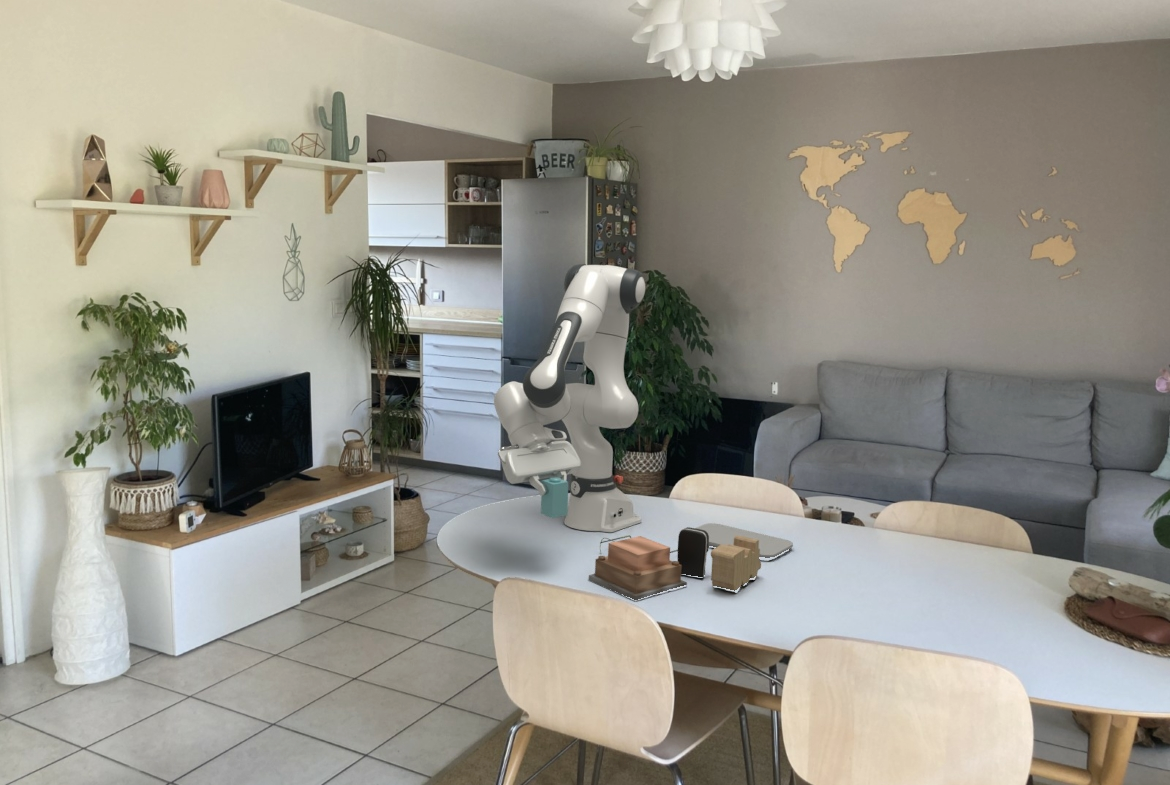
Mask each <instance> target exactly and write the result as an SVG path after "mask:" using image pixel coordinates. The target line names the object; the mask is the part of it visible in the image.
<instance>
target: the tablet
mask: <svg viewBox="0 0 1170 785" xmlns="http://www.w3.org/2000/svg"><path fill="white" fill-rule="evenodd" d="M695 528H696V529H701V530H705V531H706V532H707V533H708V535H709V546H713V547H718V546H720V545H721V544H723V545H728V544H730V545H733V544H734V537H735V536H737V535H738V536H743V537H747V538H752V539H757V540H759V549H760V556H759V557H765V558H770V557H775V556H777V555H779V554H781V553H782V552H784V551H786V550H788V549H790V550H791V548H793V547H794V542H792V541H791V540H788V539H785V538H780V537H775V536H772V535H769V534H768V535H767V534H763V533H761V532H760V533H759V532H755V531H750V530H746V529H741V528H739V527H738V528H737V527H734V526H733V527H732V526H729V525H724V524H720V523H715V522H714V523H713V522H712V523H705V524H702V525H700V526H697V527H695Z"/></svg>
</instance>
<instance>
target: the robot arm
mask: <svg viewBox="0 0 1170 785" xmlns="http://www.w3.org/2000/svg"><path fill="white" fill-rule="evenodd" d="M645 280H646V279H645V276H644V275H643V273H642V272H641V271H639V270H637V269H635V268H630V267H628V268H626V267H621V266H616V265H611V264H606V265H605V264H586V263H581V264H580V263H579V264H574V265H573V266H571V268H569V269H568V270H567V272H566V273H565V277H564V284H563V285H564V288H563V289H564V292H565V293H564V295H563V298H562V300H561V303H560V306H559V309H558V312H557V316H556V319H555V322H554V325H553V327H552V329H551V331H550V333H549V335H548V337H547V340H546V341H545V345H544V347H543V349H542V351H541V353H540V356H539V357H538V359H537V360H536V361H535V362H534V363H533V364H532V366H530V368H529V369H528V370H527V371H526V373H525V374H524V377H523V380H522V382H518V381H515V380H514V381H513V380H512V381H510V382H507V383H505V384H503V385H502V386H500V387H499V389H498V390H497V391H496V393H495V395H494V398H493V405H494V408H495V412H496V414H497V417H498V419H499V421H500V423H501V425H502V427H503V429H504V430H505V431H506V433H507V437H508V440H509V442H510V444H511V445H509V446H508V445H507V446H502V447H500V448H499V450H497V456H498V458H499V461H500V462H501V467H502V469H503V473H504V476H505V478H506V480H507V482H508V483H510V484H511V485H514V484H520V483H526V482H529V484H530V485H531V486H532V487H534V488H535V490H537V491H538V493H539V495H540V496H541V495H547V493H548V492H549V490H548V488H547V486H546V485H543V484H542V481H540V480H545V479H550V478H551V477H558V478H561V479H562V480H565V481H567V476H568V475H570V478H569V490H570V494H569V498H568V509H567V515H565V517H564V521H563V523H564V525H565V526H566V527H568V528H572V529H576V530H580V531H587V532H588V531H589V532H591V531H592V532H604V533H605V532H606V533H614V532H616V531H619V530H622V529H625V528H629V527H631V526H634V525H637V524H640V523H642V517H640V516H639V515H638V514H635V512H634V503H633V501H632V499H631V498H630V497H628V496H627V495H626V494H625V493H624V492H623V491H621V489H619V488H618V487H617V483H618V484H622V483H623V482H624V477H623V476H622V475H618V474H617V475H614V474H613V460H614V458H613V457H614V451H613V446H612V445H611V443H610V442H609V441H608V440H607V439H606V438H604V436H603V434H602V433H601V430H600V427H601V428H605V429H611V430H614V429H627V428H629V427H631V426H632V425H634V423H635V421H636V419H637V418H638V415H639V404H638V400H637V397H636V396H635V394H633V392H632V391H631V389H630V388H629V387H628V384H627V382H626V381H627V380H626V378H625V370H624V366H625V365H624V364H625V355H626V348H627V343H628V342H627V341H628V336H629V326H630V325H629V324H630V314H631V313H632V311H633V310H635V309H637V307H638V306H639V305H640V304H641V303H642V302H643V299H644V296H645V293H646V281H645ZM575 343H585V346H584V351H583V358H582V359H583V362H584V365H585V366H586V367H587V368H588V369H589V370H591V371H592V373H593V375H594V384H587V383H580V382H573V383H567V382H566V374H565V369H566V365H567V362H568V361H569V358H570V355H571V353H572V351H573V348H574V345H575ZM560 421H562V423H563V424H564V426H565V427H566V430H567V432H568V435H569V439H570V441H567V438H568V437H567V436H568V435H567V434H566V432H564V431H563V430H557V429H554V428H549V427H546V426H547V425H548V426H549V425H551V424H554V423H557V422H560Z"/></svg>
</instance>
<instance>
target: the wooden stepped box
mask: <svg viewBox="0 0 1170 785" xmlns="http://www.w3.org/2000/svg"><path fill="white" fill-rule="evenodd" d="M607 548H608V549H607V550H608V551H607V552H608V553H607V556H605V555H598V557H597V558H595V562H594V564H595V565H594V573H592V574H588V581H589V580H590V581H589V582H592V583H594V584H596V585H598V586H600V587H603V586H604V587H603V588H605V587H606V588H605V589H607V588H608V589H607V590H609V589H611V590H612V591H611V590H610V591H611V592H613V591H616V592H618V593H620V594H623V595H624V596H627V597H630V598H632V599H634V600H638V599H641V598H644V597H647V596H650V595H653V594H657V593H660V592H663V591H667V590H669V589H673V588H677V587H680V586H684V585H687V586H688V583H687V581H685V580H682V575H681V568H682V565H680V564H679V562H678V560H673V561H672V560H671V559H670V558H671V553H670V552H671V547H670V546H667V545H666V544H662V543H660V542H657V541H655V540H652V539H649V538H647V537H643V536H642V535H639V536H638V535H637V536H634V537H631V538H630V537H628V538H624V539H621V540H620V539H619V540H615V542H613V541H610V542H608V547H607ZM616 592H615V593H616ZM618 593H617V594H618ZM620 594H619V595H620ZM624 596H623V597H624ZM627 597H626V598H627Z"/></svg>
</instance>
